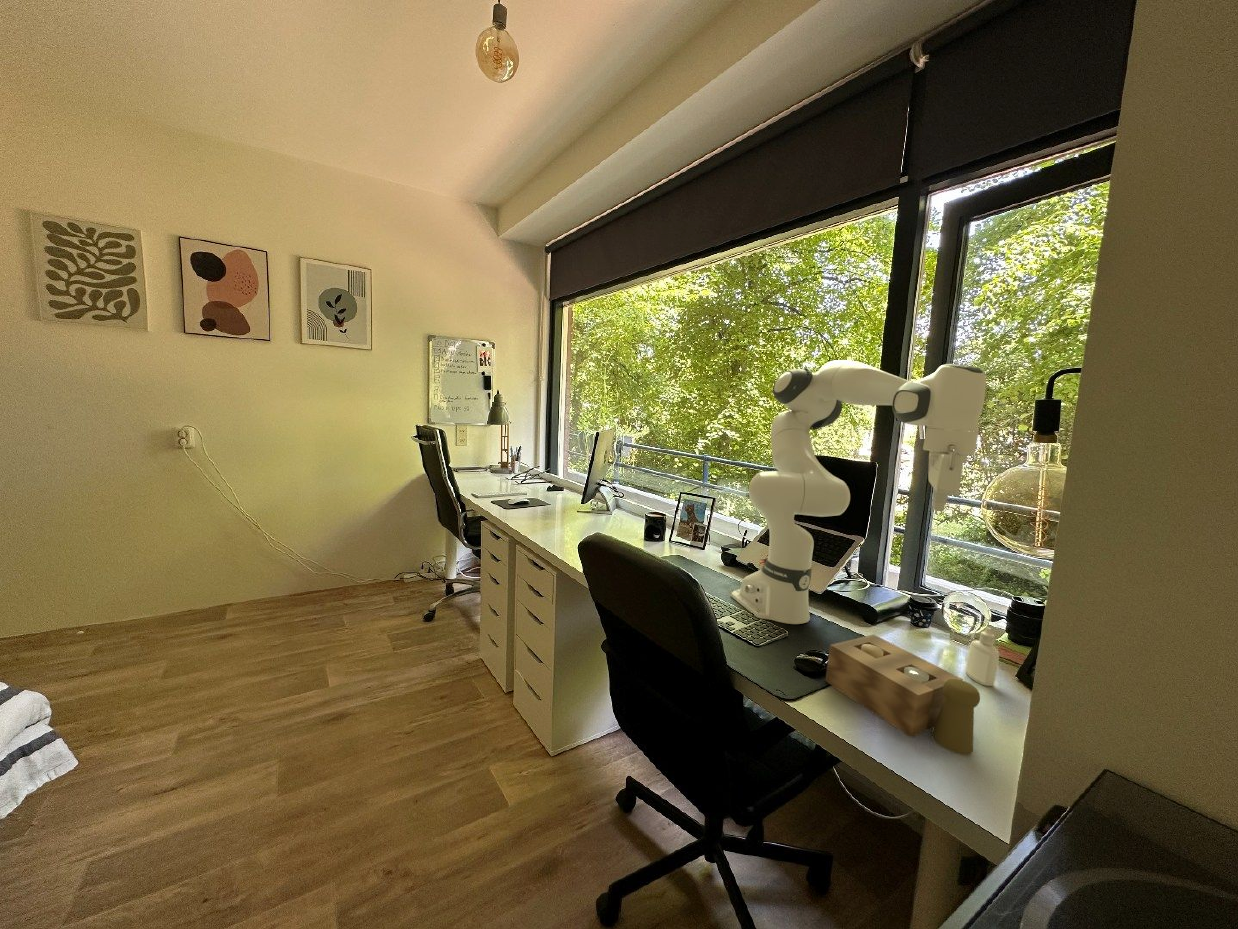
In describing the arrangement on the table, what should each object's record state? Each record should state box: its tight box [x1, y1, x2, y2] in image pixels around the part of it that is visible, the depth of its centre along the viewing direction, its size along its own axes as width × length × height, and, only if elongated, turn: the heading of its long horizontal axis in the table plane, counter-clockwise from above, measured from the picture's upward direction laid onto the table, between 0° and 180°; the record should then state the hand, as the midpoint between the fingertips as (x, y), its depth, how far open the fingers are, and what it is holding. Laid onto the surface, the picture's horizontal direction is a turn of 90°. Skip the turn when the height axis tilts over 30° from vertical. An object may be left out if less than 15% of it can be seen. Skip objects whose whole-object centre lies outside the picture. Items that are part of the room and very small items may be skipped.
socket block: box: [825, 634, 964, 738], centre depth 95 cm, size 18×14×8 cm
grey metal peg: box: [904, 667, 929, 683], centre depth 91 cm, size 4×4×8 cm
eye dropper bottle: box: [965, 626, 1000, 687], centre depth 105 cm, size 4×6×12 cm
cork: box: [931, 679, 981, 756], centre depth 83 cm, size 6×6×11 cm
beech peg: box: [861, 644, 884, 658], centre depth 99 cm, size 4×4×8 cm
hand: (937, 510), depth 100 cm, fingers closed
